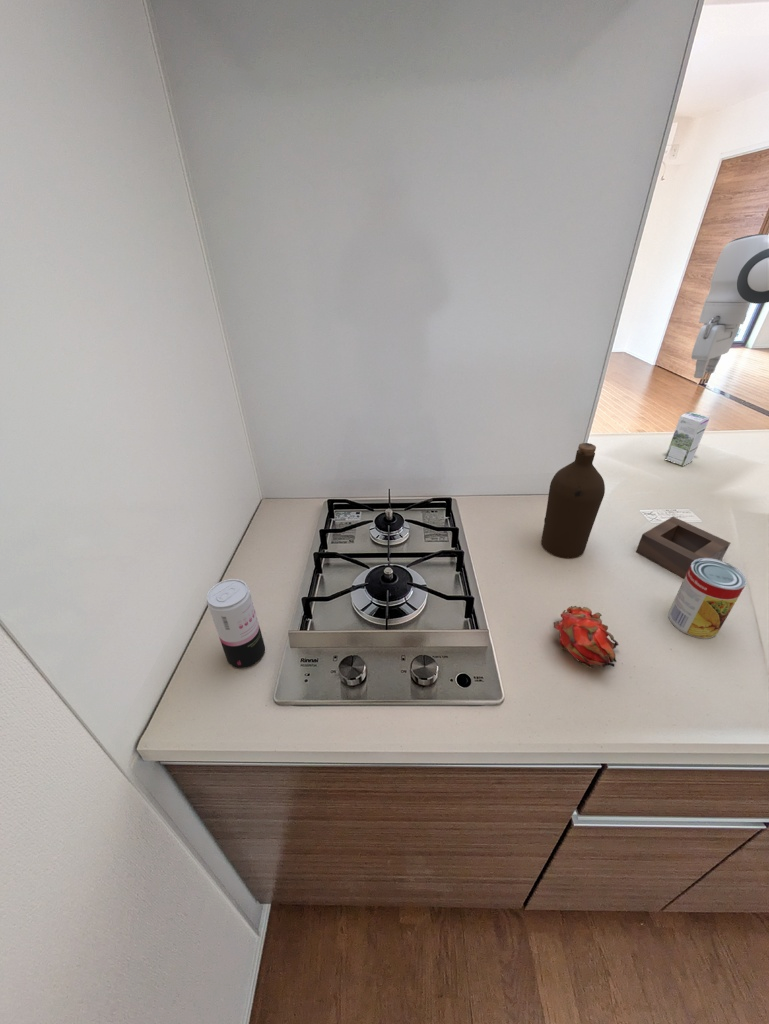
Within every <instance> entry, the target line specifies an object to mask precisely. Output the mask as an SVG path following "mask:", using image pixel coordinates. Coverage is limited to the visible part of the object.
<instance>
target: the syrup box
mask: <svg viewBox="0 0 769 1024" xmlns="http://www.w3.org/2000/svg"><path fill="white" fill-rule="evenodd" d="M710 419H711V418H710V416H708V415H704V414H699V413H698V412H697V413H696V412H692V411H687V412H685V413H683V414H681V415H680V416H679V418H678V421H677V423H676V427H675V430H674V432H673V435H672V437H671V440H670V444H669V445H668V449H667V452H666V454H665V457H664V460H665V459H667V460H670V461H672V462H675V463H677V464H679V465H678V466H680V465H682V466H681V467H685V466H687V465H689V464H691V463H692V462H693V461H694V459H695V455H696V453H697V451H698V447H699V446H700V443H701V441H702V438H703V437H704V436H703V435H704V433H705V431H706V429H707V426H708V424H709V421H710ZM691 461H692V462H691ZM690 462H691V463H690ZM688 463H689V464H688ZM677 464H676V465H677ZM686 464H687V465H686ZM684 465H685V466H684Z"/></svg>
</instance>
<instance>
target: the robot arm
mask: <svg viewBox="0 0 769 1024" xmlns="http://www.w3.org/2000/svg"><path fill="white" fill-rule="evenodd" d="M767 303H769V235H768V234H765V233H757V234H756V233H755V234H749V235H743V236H740V237H738V238H735V239H732V240H731V241H729V242H728V243H727V244H726V245H725V246H724V247H723V248H722V250H721V252H720V254H719V256H718V258H717V261H716V264H715V267H714V269H713V273H712V276H711V278H710V289H709V292H708V294H707V296H706V298H705V300H704V303H703V306H702V309H701V313H700V317H699V320H698V323H699V324H703V325H702V326H701V328H699V331H698V334H697V337H696V339H695V342H694V345H693V347H692V351H691V360H696V361H695V372H694V374H693V377H694V378H695V379H703V378H704V377H705V374H713V373H715V370H716V368H717V365H718V364H719V361H720V360H721V357H722V355H726V354H728V352H729V351H730V350H731V348H732V345H733V344H734V341H735V339H736V336H737V334H738V332H739V329H740V326H741V325H743V324H744V322H745V320H746V317H747V313H748V311H749V308H750V305H751V304H755V305H756V304H757V305H759V304H760V305H761V304H767Z"/></svg>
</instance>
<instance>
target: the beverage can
mask: <svg viewBox="0 0 769 1024" xmlns="http://www.w3.org/2000/svg"><path fill="white" fill-rule="evenodd" d="M206 605H207V607H208V610H209V614H210V615H211V618H212V621H213V624H214V627H215V630H216V632H217V633H216V634H217V635H218V639H219V641H220V644H221V646H222V649H223V652H224V654H225V658H226V661H227V663H228V664H229V665H230V666H231V667H232V668H235V669H247V668H250V667H252V666H254V665H256V664H257V663H259V661H261V660H262V658H263V657H264V655H265V652H266V645H265V642H264V638H263V634H262V629H261V627H260V623H259V619H258V616H257V612H256V608H255V605H254V601H253V597H252V593H251V590H250V588H249V586H248V585H247V583H246V581H244V580H242V579H238V578H228V579H225V580H224V579H223V580H222V581H219V582H217V583H216V584H214V585H213V586H211V587H210V589H209V590H208V592H207V594H206Z"/></svg>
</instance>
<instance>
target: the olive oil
mask: <svg viewBox="0 0 769 1024" xmlns="http://www.w3.org/2000/svg"><path fill="white" fill-rule="evenodd" d="M596 450H597V446H596V445H594V444H593V443H591V442H590V443H589V442H581V443H579V444H578V448H577V450H576V454H575V458H574V461H572V462H571V463H568V464H567V465H565V466H563V467H562V468H560V469H559V470H558V471H556V473H554V476H553V477H552V479H551V481H550V483H549V491H548V495H547V496H548V497H547V503H546V509H545V517H544V520H543V529H542V534H541V541H540V544H541V546H542V548H543V550H544V551H546V552H547V553H548V554H550V555H552V556H555V557H557V558H560V559H576V558H580V557H581V556H582V555H583V554H584V553H585V550H586V547H587V544H588V542H589V539H590V535H591V533H592V530H593V527H594V524H595V522H596V518H597V516H598V513H599V510H600V507H601V505H602V502H603V500H604V498H605V497H604V496H605V493H606V487H605V486H606V485H605V480H604V478H603V476H602V474H600V472H599V471H598V469H597V468H596V466H594V463H593V462H594V459H595V456H596Z"/></svg>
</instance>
